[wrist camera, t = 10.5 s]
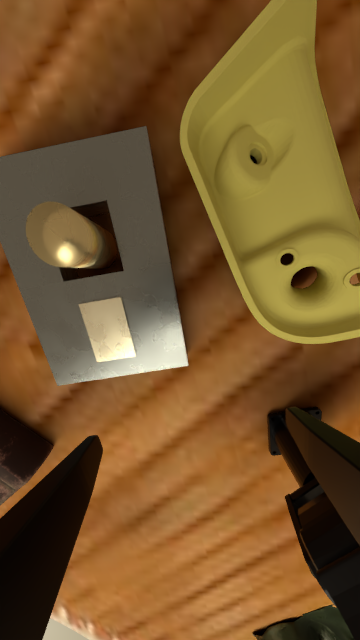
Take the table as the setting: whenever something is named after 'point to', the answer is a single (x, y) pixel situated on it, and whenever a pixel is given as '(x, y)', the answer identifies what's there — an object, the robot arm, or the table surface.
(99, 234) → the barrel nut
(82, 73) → the table surface
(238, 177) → the plastic component
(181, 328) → the flange plate
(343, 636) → the rose bouquet
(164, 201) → the table surface
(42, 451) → the diary
